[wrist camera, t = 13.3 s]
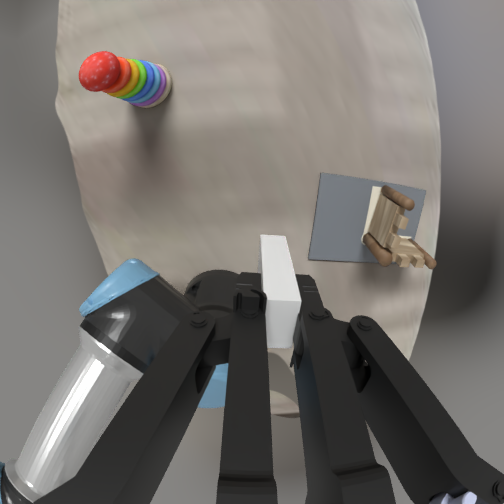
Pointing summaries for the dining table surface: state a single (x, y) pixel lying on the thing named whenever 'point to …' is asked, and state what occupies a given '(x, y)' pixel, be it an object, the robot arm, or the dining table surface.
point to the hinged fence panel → (390, 217)
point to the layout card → (353, 217)
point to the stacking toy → (126, 79)
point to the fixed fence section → (399, 253)
